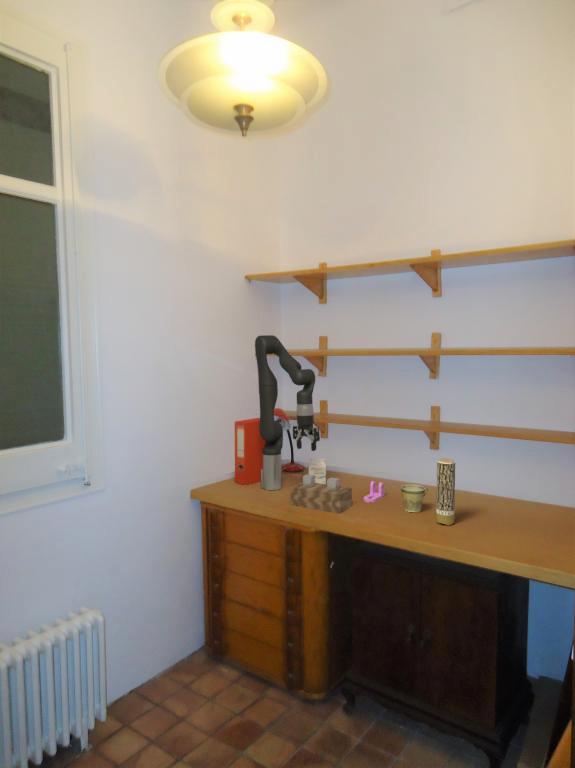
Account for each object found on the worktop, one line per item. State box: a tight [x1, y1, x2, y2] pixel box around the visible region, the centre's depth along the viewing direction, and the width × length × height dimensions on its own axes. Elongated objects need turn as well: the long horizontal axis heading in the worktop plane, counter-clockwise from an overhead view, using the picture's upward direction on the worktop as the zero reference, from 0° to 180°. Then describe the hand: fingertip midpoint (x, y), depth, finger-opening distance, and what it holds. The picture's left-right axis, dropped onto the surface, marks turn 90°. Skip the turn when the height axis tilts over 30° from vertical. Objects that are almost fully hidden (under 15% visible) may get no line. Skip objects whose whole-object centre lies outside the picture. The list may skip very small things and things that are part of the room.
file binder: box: [234, 417, 266, 486], centre depth 271 cm, size 8×17×32 cm, turn 139°
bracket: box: [362, 480, 386, 503], centre depth 240 cm, size 13×6×7 cm, turn 146°
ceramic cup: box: [400, 484, 429, 513], centre depth 223 cm, size 13×10×10 cm
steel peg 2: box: [326, 477, 341, 491], centre depth 227 cm, size 4×4×7 cm
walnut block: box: [290, 481, 353, 514], centre depth 230 cm, size 24×12×8 cm, turn 59°
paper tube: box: [435, 458, 456, 524], centre depth 206 cm, size 7×7×25 cm
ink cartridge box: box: [308, 457, 327, 484], centre depth 257 cm, size 9×5×15 cm, turn 84°
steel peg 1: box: [302, 473, 315, 488], centre depth 233 cm, size 4×4×7 cm
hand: (306, 449), depth 235 cm, fingers open, 8 cm apart
